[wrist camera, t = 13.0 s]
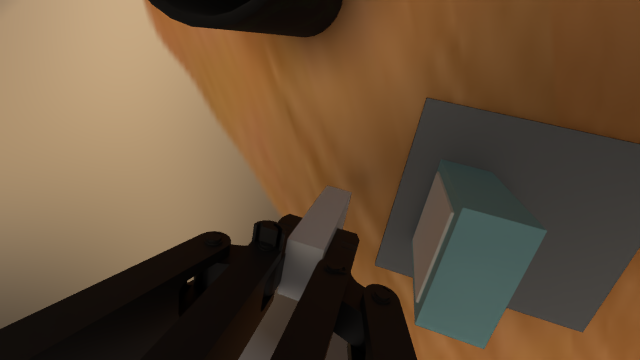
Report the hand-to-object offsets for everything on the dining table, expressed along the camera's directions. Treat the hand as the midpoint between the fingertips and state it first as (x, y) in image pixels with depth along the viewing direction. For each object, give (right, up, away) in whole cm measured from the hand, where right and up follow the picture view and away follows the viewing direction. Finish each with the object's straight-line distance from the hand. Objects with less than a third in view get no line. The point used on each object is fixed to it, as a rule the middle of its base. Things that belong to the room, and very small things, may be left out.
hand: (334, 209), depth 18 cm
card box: (+9, 0, +5) cm, 10 cm away
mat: (+13, -1, +4) cm, 14 cm away
